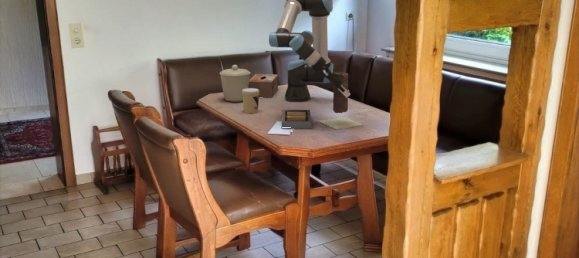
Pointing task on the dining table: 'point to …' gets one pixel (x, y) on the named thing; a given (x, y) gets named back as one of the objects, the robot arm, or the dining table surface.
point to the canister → (234, 83)
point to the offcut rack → (296, 124)
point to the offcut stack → (296, 116)
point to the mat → (340, 123)
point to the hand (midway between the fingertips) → (347, 94)
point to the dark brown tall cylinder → (338, 98)
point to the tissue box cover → (264, 84)
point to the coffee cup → (250, 100)
